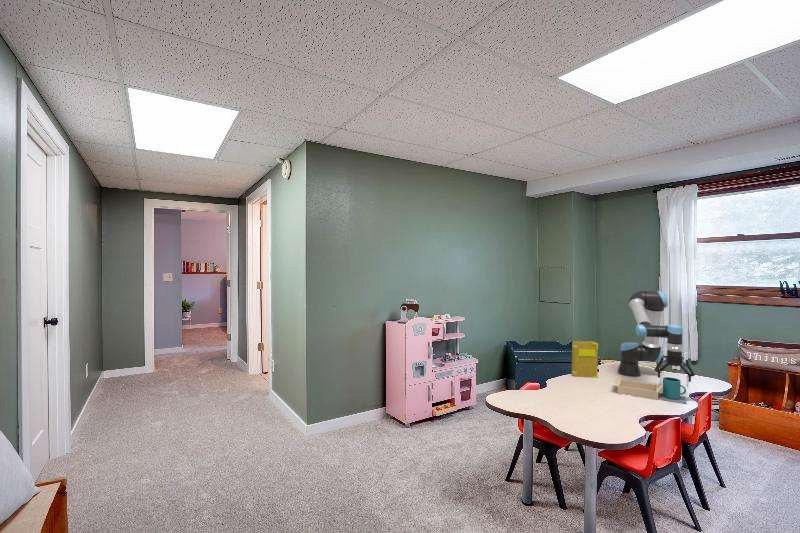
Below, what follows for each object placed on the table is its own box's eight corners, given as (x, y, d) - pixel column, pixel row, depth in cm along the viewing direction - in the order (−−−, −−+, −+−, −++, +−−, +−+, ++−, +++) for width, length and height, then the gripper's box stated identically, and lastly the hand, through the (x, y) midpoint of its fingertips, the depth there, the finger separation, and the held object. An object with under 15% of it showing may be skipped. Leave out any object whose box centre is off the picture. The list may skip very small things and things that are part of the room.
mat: (661, 393, 255) (661, 393, 255) (684, 397, 248) (684, 396, 248) (662, 400, 242) (662, 399, 242) (686, 404, 236) (686, 403, 236)
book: (594, 375, 296) (594, 341, 296) (597, 377, 290) (598, 343, 290) (570, 374, 298) (570, 340, 298) (573, 376, 291) (573, 342, 291)
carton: (615, 386, 270) (615, 374, 269) (661, 393, 256) (661, 380, 256) (613, 393, 255) (614, 380, 255) (662, 400, 241) (662, 387, 241)
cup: (684, 402, 238) (684, 383, 237) (660, 397, 246) (661, 379, 246) (687, 398, 244) (688, 380, 244) (664, 394, 252) (665, 376, 252)
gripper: (650, 349, 248) (649, 383, 249) (700, 354, 235) (699, 390, 235) (650, 347, 255) (649, 380, 255) (699, 351, 242) (698, 386, 242)
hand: (673, 385), depth 245 cm, fingers open, 13 cm apart
